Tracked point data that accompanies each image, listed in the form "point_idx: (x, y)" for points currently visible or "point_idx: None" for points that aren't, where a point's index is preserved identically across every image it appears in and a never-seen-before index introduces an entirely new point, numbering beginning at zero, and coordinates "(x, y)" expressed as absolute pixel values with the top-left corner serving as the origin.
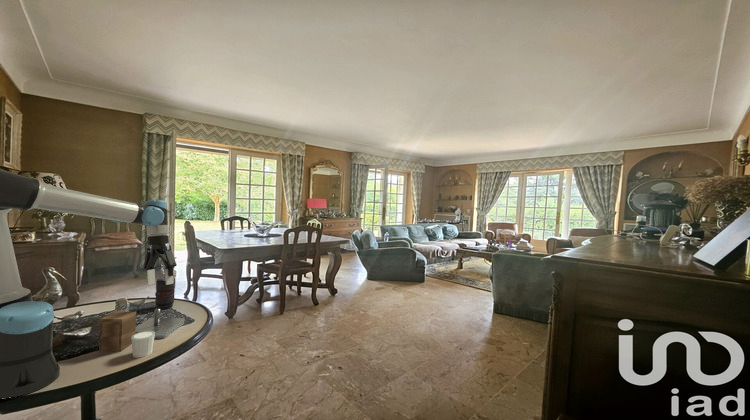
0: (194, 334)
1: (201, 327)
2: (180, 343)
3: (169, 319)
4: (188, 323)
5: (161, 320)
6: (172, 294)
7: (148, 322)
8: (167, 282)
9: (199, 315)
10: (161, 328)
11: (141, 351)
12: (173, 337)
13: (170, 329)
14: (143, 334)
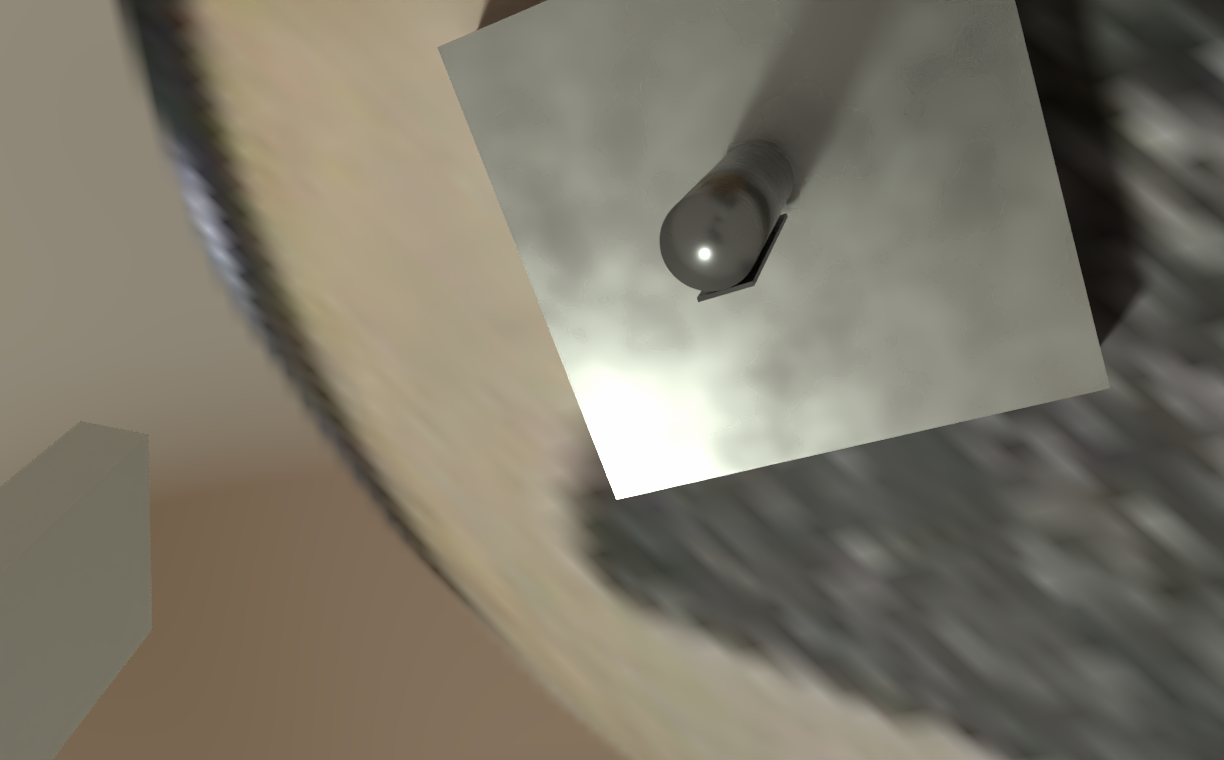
0: (273, 253)
1: (364, 432)
2: (201, 2)
3: (768, 409)
4: (592, 485)
5: (848, 345)
6: None
7: (977, 221)
8: (29, 480)
9: (672, 715)
10: (592, 118)
11: None
12: (406, 98)
13: (491, 165)
14: None
